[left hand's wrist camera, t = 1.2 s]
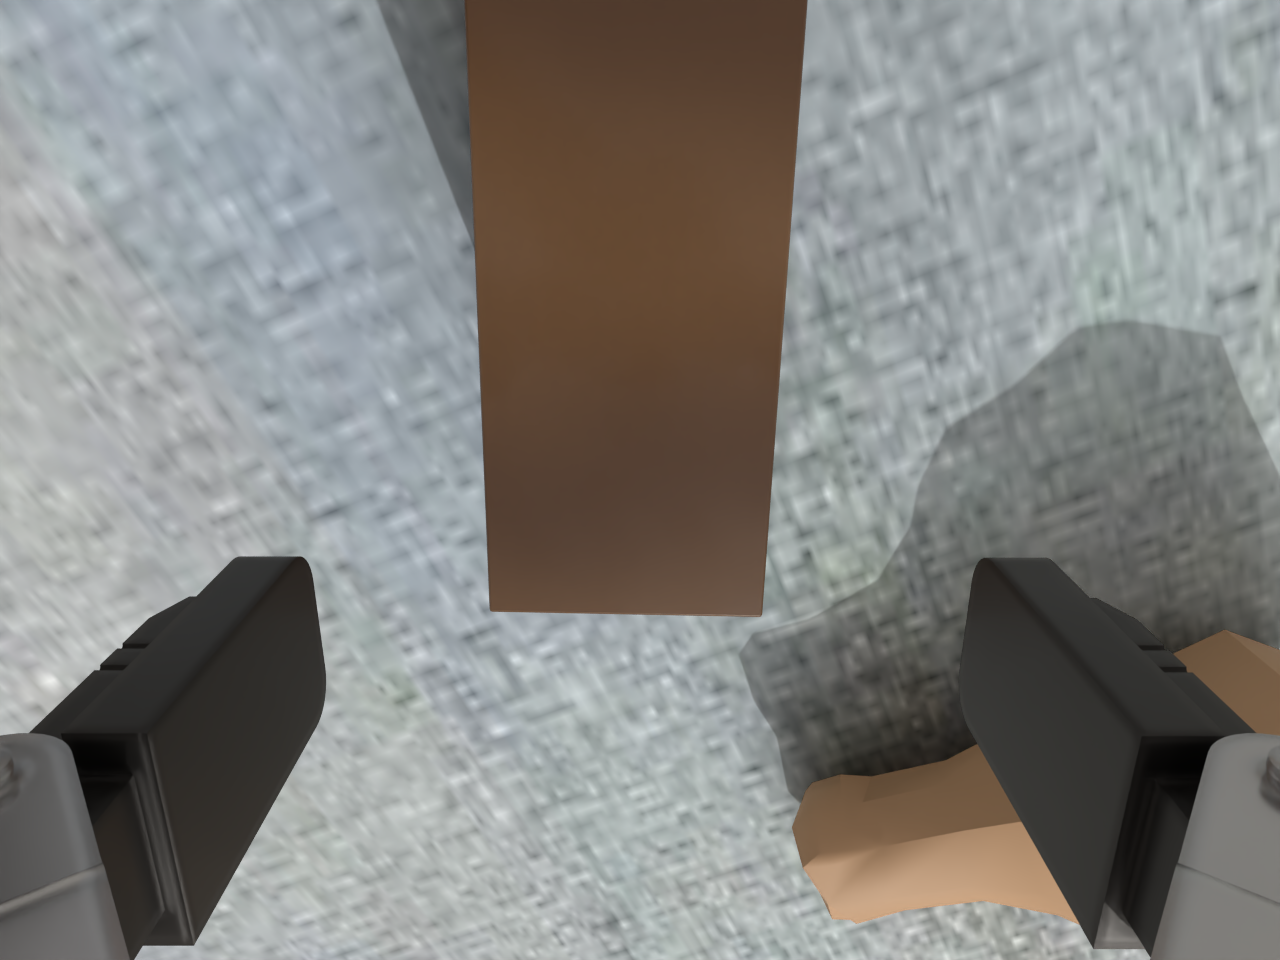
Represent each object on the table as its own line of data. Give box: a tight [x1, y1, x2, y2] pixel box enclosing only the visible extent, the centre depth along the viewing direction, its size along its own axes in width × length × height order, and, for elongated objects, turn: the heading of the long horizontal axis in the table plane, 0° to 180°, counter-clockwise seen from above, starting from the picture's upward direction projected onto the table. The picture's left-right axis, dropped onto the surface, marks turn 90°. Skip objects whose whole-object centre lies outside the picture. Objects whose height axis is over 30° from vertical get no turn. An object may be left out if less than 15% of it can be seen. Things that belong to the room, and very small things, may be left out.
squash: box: [792, 630, 1280, 925], centre depth 31 cm, size 11×20×9 cm, turn 110°
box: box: [464, 0, 808, 617], centre depth 21 cm, size 20×6×12 cm, turn 179°
